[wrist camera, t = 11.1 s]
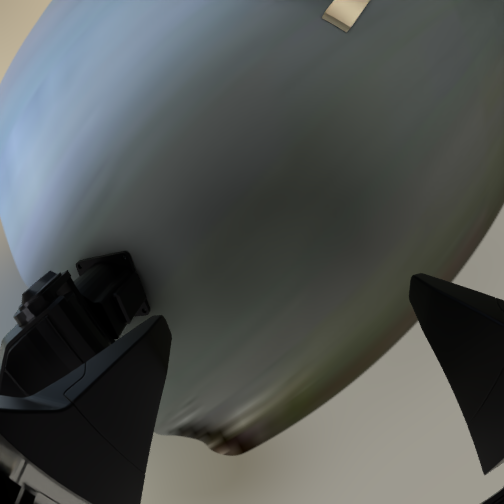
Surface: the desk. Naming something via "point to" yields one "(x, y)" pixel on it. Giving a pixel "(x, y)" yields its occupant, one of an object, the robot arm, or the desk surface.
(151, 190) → the desk surface
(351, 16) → the notched board
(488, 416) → the robot arm
